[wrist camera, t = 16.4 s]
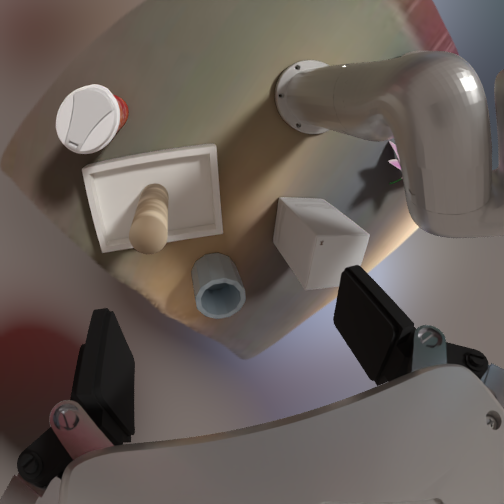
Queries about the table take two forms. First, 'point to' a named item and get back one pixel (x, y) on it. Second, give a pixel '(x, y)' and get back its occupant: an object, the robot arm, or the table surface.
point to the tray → (160, 172)
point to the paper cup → (90, 118)
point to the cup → (217, 286)
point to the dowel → (150, 220)
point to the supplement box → (317, 241)
